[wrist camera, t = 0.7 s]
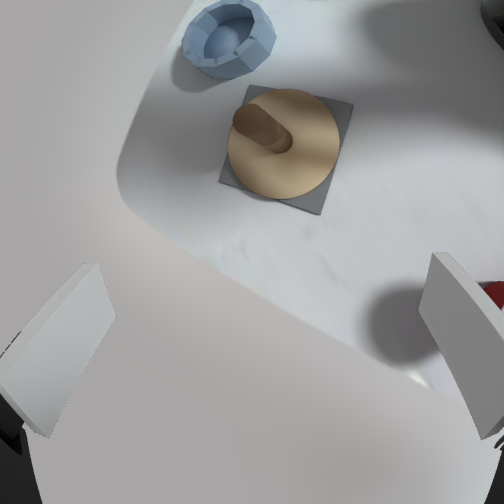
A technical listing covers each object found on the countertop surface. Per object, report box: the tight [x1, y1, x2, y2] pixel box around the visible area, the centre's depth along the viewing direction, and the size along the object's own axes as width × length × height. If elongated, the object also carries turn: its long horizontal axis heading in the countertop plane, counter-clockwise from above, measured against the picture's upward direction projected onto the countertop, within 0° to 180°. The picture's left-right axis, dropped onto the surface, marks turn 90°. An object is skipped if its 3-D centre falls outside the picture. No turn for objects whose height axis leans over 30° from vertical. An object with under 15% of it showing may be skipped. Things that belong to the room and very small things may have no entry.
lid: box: [228, 89, 340, 199], centre depth 30 cm, size 14×14×10 cm
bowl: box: [182, 0, 276, 79], centre depth 34 cm, size 12×12×4 cm
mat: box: [219, 85, 353, 215], centre depth 35 cm, size 14×14×1 cm
